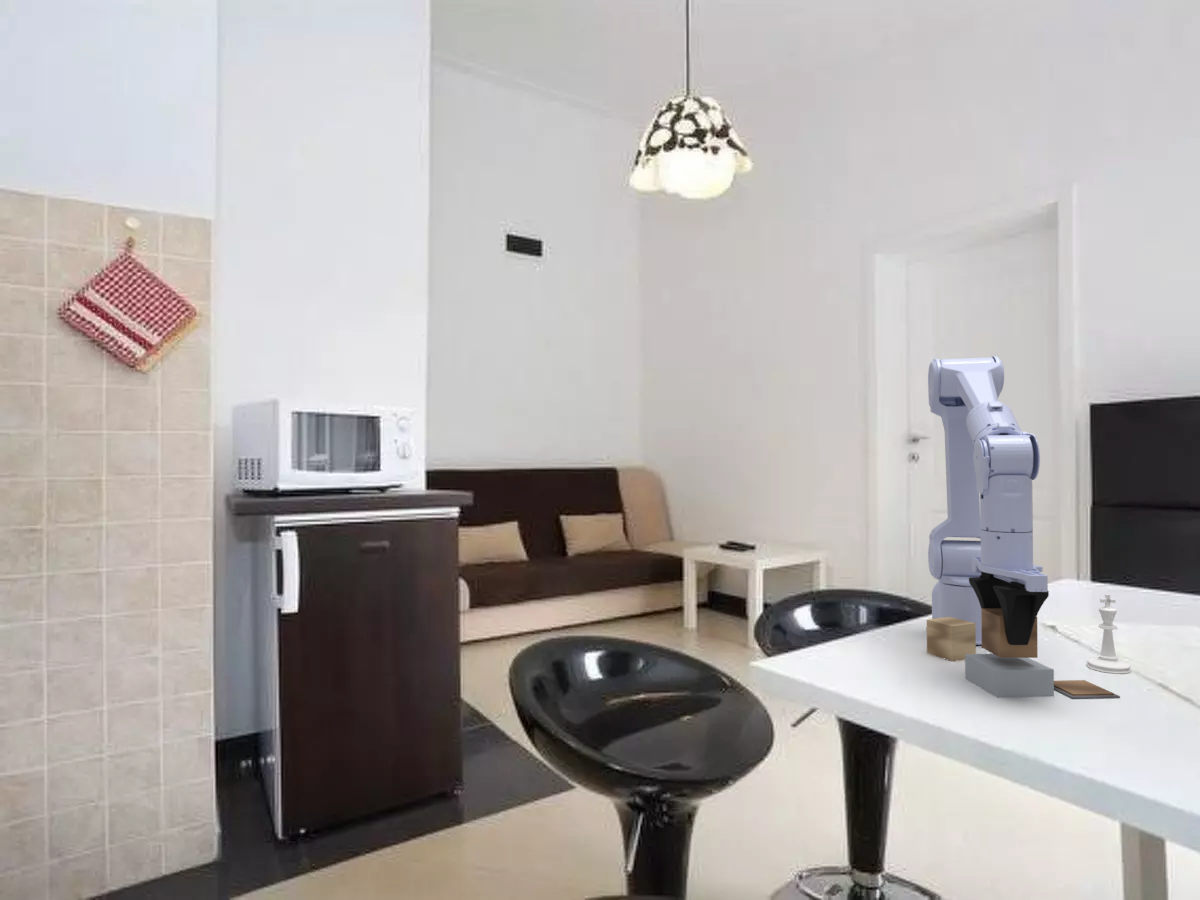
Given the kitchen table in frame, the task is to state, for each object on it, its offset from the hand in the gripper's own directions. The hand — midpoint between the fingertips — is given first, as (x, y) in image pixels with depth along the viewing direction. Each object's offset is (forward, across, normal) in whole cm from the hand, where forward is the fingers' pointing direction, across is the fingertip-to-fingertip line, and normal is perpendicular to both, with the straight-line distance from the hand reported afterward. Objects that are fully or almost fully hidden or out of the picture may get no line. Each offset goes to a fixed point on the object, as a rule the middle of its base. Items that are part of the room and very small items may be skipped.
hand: (1007, 638), depth 89 cm
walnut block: (+2, 0, 0) cm, 2 cm away
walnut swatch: (+6, -1, -8) cm, 10 cm away
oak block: (+6, +14, +1) cm, 15 cm away
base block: (+6, 0, 0) cm, 6 cm away
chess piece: (+6, +8, -17) cm, 20 cm away
